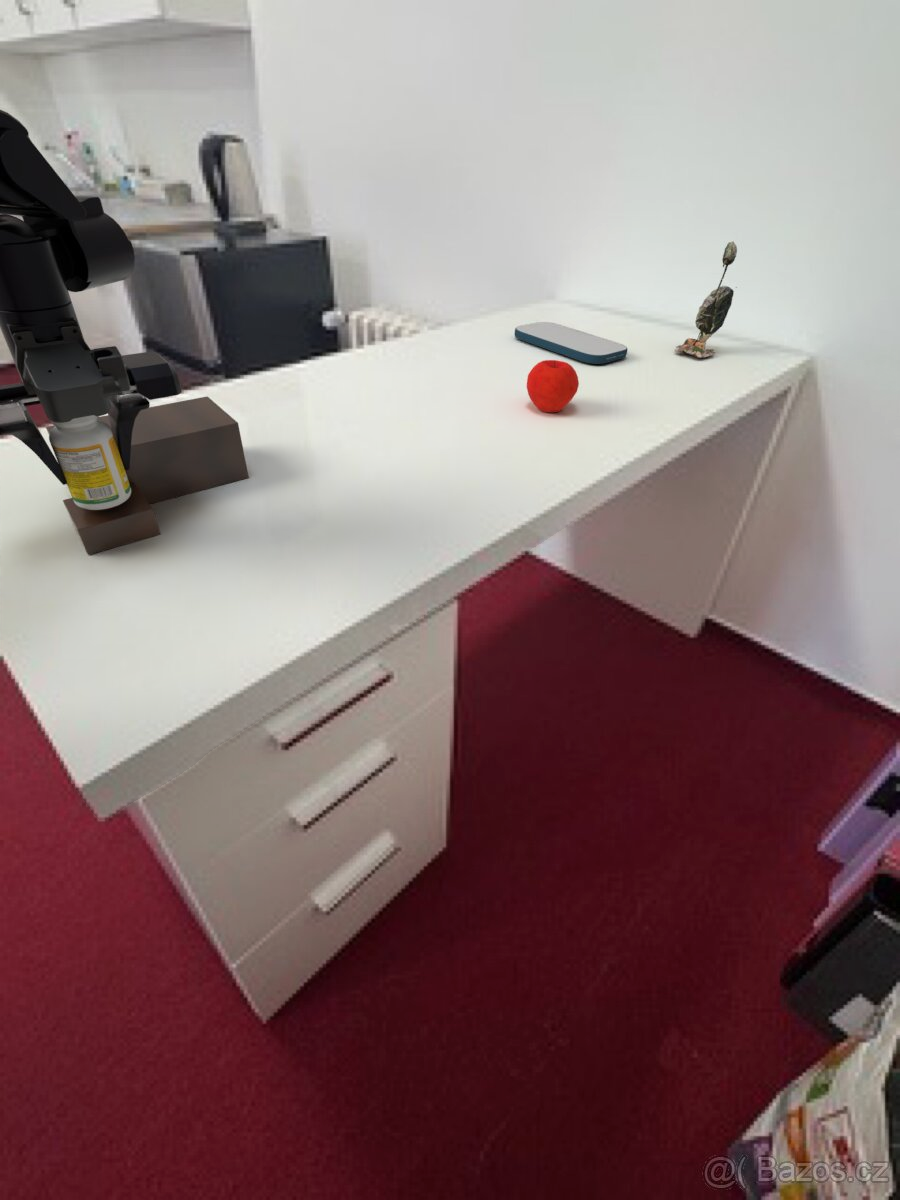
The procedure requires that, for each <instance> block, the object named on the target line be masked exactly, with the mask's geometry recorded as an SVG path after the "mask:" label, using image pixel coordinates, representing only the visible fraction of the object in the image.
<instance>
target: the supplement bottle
mask: <svg viewBox="0 0 900 1200" xmlns="http://www.w3.org/2000/svg"><path fill="white" fill-rule="evenodd" d="M99 417H100V416H95V415H91V416H86V417H80V418H75V419H72V420H71V421H70V422H64V423H57V422H53V421H51V420H49V421H50V423H51V424H52V426H55V427H54V428H53V429H52V430H51V431H50V434H48V441H49V444H50V446H51V448H52V452H53V455H54V457H55V458H56V460H57V462H58V464H59V466H60V467H61V469H62V471H63V473H64V476H65V478H66V481H67V484H66V486H67V488H68V490H69V494H70V496H71V498H73V501H74V503H75V504H76V505H77V506H79V507H81V508H83V509H88V510H102V509H108V508H112V507H115V506H118V505H120V504H122V503H123V502H125V501H126V500H127V499H128V498H129V497H130V495H131V487H130V484H129V481H128V478H127V475H126V472H125V469H124V466H123V462H122V460H121V456H120V453H119V450H118V447H117V444H116V441H115V438H114V434H113V431H112V429H111V428H110V426H109V425H108V424H106V423H105V422H103V421H101V420H98V418H99Z"/></svg>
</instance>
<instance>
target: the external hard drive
mask: <svg viewBox="0 0 900 1200" xmlns="http://www.w3.org/2000/svg"><path fill="white" fill-rule="evenodd" d="M514 337H515V338H516V339H518V340H520V341H522V342H525V343H528V344H531V345H534V346H537V347H540V348H543V349H545V350H548V351H551V352H553V353H557V354H559V355H562V356H565V357H567V358H571V359H574V360H577V361H580V362H582V363H586V364H592V365H602V364H607V363H611V362H615V361H619V360H623V359H624V358H626V357H627V354H628V347H627V346H626V345H625V344H622V343H620V342H616V341H614V340H610V339H608V338H604V337H601V336H598V335H594V334H592V333H588V332H585V331H582V330H578V329H575V328H573V327H569V326H565V325H564V324H563V325H562V324H560V323H555V322H550V321H537V322H532V323H529V324H528V323H527V324H522V325H518V326H516V327H515V328H514Z"/></svg>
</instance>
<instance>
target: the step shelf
mask: <svg viewBox="0 0 900 1200" xmlns="http://www.w3.org/2000/svg"><path fill="white" fill-rule="evenodd" d="M98 420H101V421H103V422H105V423H106V424H108V425H109V426H110V428H111V424H110V420H109V416H108V414H105V415H102V416H99V418H98ZM54 427H55V426H54V425H48V426H45V429H46V431H47V434H48V435H49V434H50V431H51V430H52V429H53V428H54ZM243 445H244V444H243V441H242V436H241V431H240V426H239V422H238V421H236V419H235V418H233V417H232V416H231V415H230V414H228V412H227V411H225V410H224V409H223V408H222V407H221V406H219V404H217V403H216V402H215V401H214V400H213V399H211V398H210V397H209V396H208V395H207V396H201V397H196V398H191V399H186V400H180V401H176V402H170V403H165V404H159V405H154V406H149V408H147V409H143V410H141V411H140V412H139V413H138V415H137V417H136V419H135V422H134V426H133V431H132V439H131V454H130V469H129V470H125V472H126V475H127V478H128V481H129V484H130V487H131V495H130V497H129V498H128V499H127V500H126V501H125V502H123V503H122V504H120V505H118V506H115V507H112V508H108V509H102V510H88V509H83V508H81V507H79V506H77V505H76V504H75V503H74V501H73V498H72V497H70V498H69V497H68V498H66V499H63V500H62V502H63V505H64V507H65V509H66V512H67V514H68V517H69V518H70V521H71V523H72V526H73V527H74V530H75V532H76V534H77V536H78V538H79V540H80V542H81V544H82V546H83V548H84V550H85V552H86V554H87V555H88V556H90V555H93V554H97V553H101V552H105V551H107V550H108V551H109V550H111V549H114V548H118V547H121V546H124V545H129V544H131V543H135V542H138V541H141V540H145V539H149V538H152V537H155V536H158V535H161V530H160V527H159V524H158V521H157V518H156V515H155V511H154V509H153V507H152V506H151V504H155V503H159V502H164V501H166V500H170V499H175V498H178V497H183V496H185V495H189V494H193V493H197V492H201V491H205V490H209V489H211V488H215V487H219V486H223V485H226V484H230V483H235V482H237V481H241V480H246V479H249V478H250V476H249V471H248V467H247V461H246V457H245V452H244V446H243Z"/></svg>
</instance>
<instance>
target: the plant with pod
mask: <svg viewBox="0 0 900 1200" xmlns="http://www.w3.org/2000/svg"><path fill="white" fill-rule="evenodd" d="M737 254H738V248H737V245H736V243H735V242H734V240H733V241H730V242H728V243H727V244H726V246H725V247H724V251H723V254H722V259H721V261H722V268H724V270H723V272H722V276H721V278H720V281H719V284H718V286H717V288H715V289H713V290H712V291H711V292H710V293H709V294H708V295H707V296H706V297H705V299H703V302H702V304H701V305H700V306H699V307H698V311H697V313H696V317H695V327H696V328H697V330H699V333H698V336H697V339H696V338H689V337H688V338H687V339H685V341H684V342H683V343H682V344H679V345H677V346H676V347H675V349H674V352H676V353H677V352H682V351H684V353H686V354H688V355H691V356H693V357H694V358H696V359H697V358H701V359H702V358H707V357H709V356H713V357H714V355H715V354H716V353H715V352H714V351H715V349H714V348H708V349H707V348H706V345H707V342H708V340H709V339H710V338H711V337H712V336H713V335H714V334H715V333H717V332H718V331H719V330H720V329H721V328H722V327H723V325H724V324H725V323H724V322H725V321H726V318H727V316H728V313H729V310H730V309H731V307H732V303H733V297H734V292H735V290H733V288H731V287H730V286H727V285H722V283H723V280H724V278H725V275H726V272H727V270H728V268H729V266H730V265H732V264H733V263H734V262H735V260H736V257H737ZM721 285H722V286H721ZM737 288H738V287H737V286H735V289H737Z"/></svg>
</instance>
